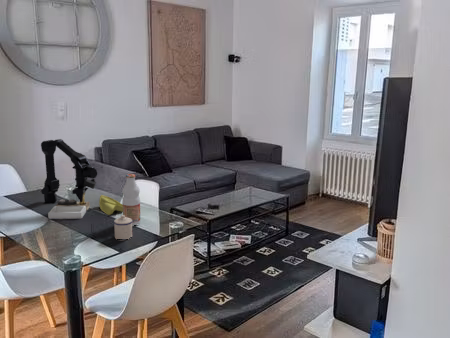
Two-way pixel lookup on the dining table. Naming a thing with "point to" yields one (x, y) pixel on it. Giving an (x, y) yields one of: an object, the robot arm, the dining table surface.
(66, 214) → the tray
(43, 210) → the dining table surface
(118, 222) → the teacup with lid
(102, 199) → the plastic component
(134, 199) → the fruit juice
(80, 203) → the lock pin
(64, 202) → the plate
